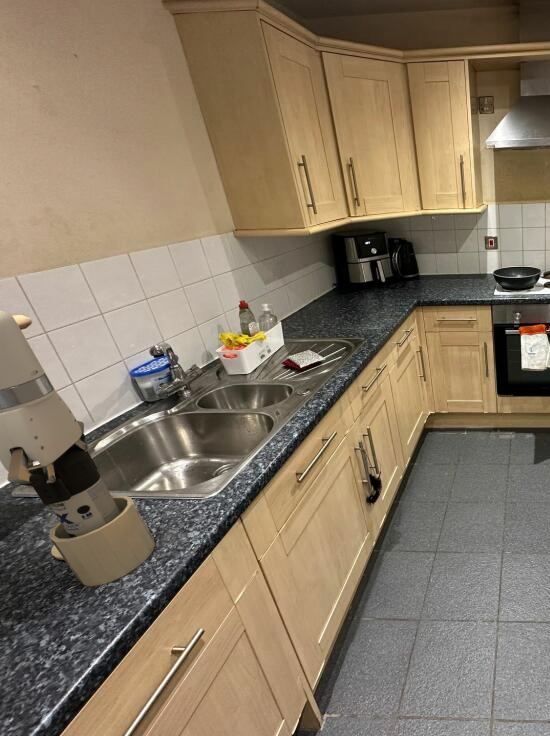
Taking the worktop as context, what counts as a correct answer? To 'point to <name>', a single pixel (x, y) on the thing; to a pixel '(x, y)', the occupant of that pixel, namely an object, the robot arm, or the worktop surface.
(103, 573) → the pot
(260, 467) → the worktop surface
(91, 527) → the spray can
